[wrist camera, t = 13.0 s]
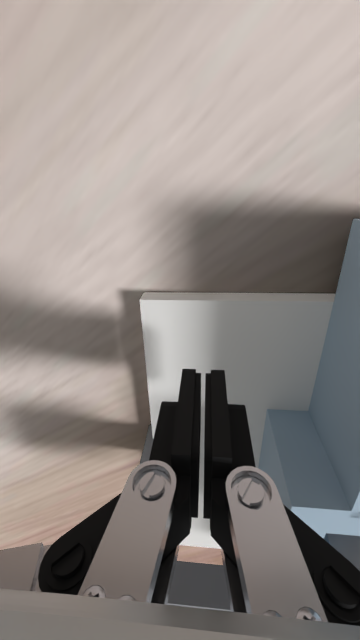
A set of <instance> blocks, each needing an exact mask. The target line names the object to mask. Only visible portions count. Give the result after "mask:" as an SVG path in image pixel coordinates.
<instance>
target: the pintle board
mask: <svg viewBox="0 0 360 640" xmlns="http://www.w3.org/2000/svg"><path fill="white" fill-rule="evenodd" d="M334 299H335V294H328V293H194V292H144V293H143V295H142V296H141V298H140V310H141V321H142V331H143V342H144V352H145V363H146V373H147V384H148V394H149V405H150V415H151V425H149V428H148V432H147V436H146V440H145V445H144V449H143V453H142V457H141V461H140V464H142V463H143V462H146V461H149V458H150V453H151V448H152V444H153V439H154V434H155V430H156V425H157V420H158V415H159V411H160V406H161V402H162V401H168V402H178V398H179V390H180V383H181V376H182V369H196V373H201V433H200V468H199V502H198V518H192V522H191V529H190V534H189V535H188V536H187V537H186V538H185V539H184V540H183V541H182V542H181V543H180V544H179V545H185V546H196V547H207V548H218V549H221V547H220V546H219V545H218V544H217V542H216V541H215V540H214V539H213V538H212V536H211V530H210V519H205V518H203V508H204V432H205V375H206V373H211V370H225V380H226V391H227V402H228V404H238V405H245V407H246V413H247V419H248V424H249V430H250V436H251V442H252V448H253V454H254V460H255V466H256V468H258V466H259V459H260V453H261V446H262V439H263V432H264V426H265V419H266V412H267V409H275V410H295V411H308V410H309V405H310V401H311V397H312V393H313V388H314V384H315V380H316V376H317V371H318V367H319V363H320V358H321V354H322V350H323V346H324V341H325V337H326V333H327V329H328V324H329V320H330V316H331V311H332V307H333V303H334ZM326 534H327V537H328V540H329V543H330V545H331V546H332V547H334V548H335V549H336V550H337V551H338V552H339V553H341V554H342V555H343V556H344V557H345V558H346V559H348V560H349V561H350V562H351V563H352V564H353V565H354V566H355V567H356V568H357V569H358V570H359V571H360V536H354V535H342V534H330V533H326ZM167 605H175V606H184V607H193V608H203V609H212V610H221V611H230V612H231V609H230V603H229V597H228V590H227V584H226V578H225V572H224V566H223V565H213V564H203V563H193V562H182V561H176V565H175V570H174V575H173V580H172V584H171V589H170V594H169V599H168V603H167Z"/></svg>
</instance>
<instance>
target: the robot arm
mask: <svg viewBox="0 0 360 640" xmlns="http://www.w3.org/2000/svg"><path fill="white" fill-rule="evenodd" d="M200 433H201V373H196V369H182V376H181V383H180V390H179V398H178V402H168V401H162V402H161V406H160V411H159V415H158V420H157V425H156V430H155V434H154V439H153V444H152V448H151V453H150V458H149V461H146V462H143V463H142V464H140V465H138V466H137V467H136V468H135V469H134V470H133V471H132V472H131V474H130V476H129V477H128V480H127V482H126V484H125V487H124V489H123V491H122V493H121V494H119V495H118V496H116V497H115V498H114V499H112V500H111V501H110V502H108V503H107V504H105V505H104V506H103V507H101V508H100V509H99V510H97V511H96V512H94V513H93V514H92V515H90V516H89V517H88V518H86V519H85V520H83V521H82V522H81V523H79V524H78V525H77V526H75V527H74V528H72V529H71V530H70V531H68V532H67V533H66V534H64V535H63V536H61V537H60V538H59V539H58V540H57V541H56V542H54V543H53V544H52V545H47V546H43V544H42V543H37V544H32V545H26V546H21V547H15V548H10V549H4V550H0V640H360V571H359V570H358V569H357V568H356V567H355V566H354V565H353V564H352V563H351V562H350V561H349V560H348V559H346V558H345V557H344V556H343V555H342V554H341V553H339V552H338V551H337V550H336V549H335V548H334V547H332V546H331V545H330V544H329V543H328V542H327V541H325V540H324V539H323V538H322V537H321V536H320V535H319V534H317V533H316V532H315V531H314V530H313V529H312V528H310V527H309V526H308V525H307V524H306V523H305V522H303V521H302V520H301V519H300V518H299V517H298V516H296V515H295V514H294V513H293V512H292V511H291V510H290V509H288V508H287V507H286V506H285V505H284V504H283V503H282V500H281V497H280V495H279V492H278V490H277V487H276V485H275V483H274V481H273V480H272V479H271V477H270V476H269V475H268V474H267V473H265V472H264V471H262V470H261V469H258V468H256V466H255V460H254V454H253V448H252V442H251V436H250V430H249V424H248V419H247V413H246V407H245V405H238V404H228V402H227V391H226V380H225V370H211V373H206V375H205V432H204V508H203V518H205V519H210V530H211V536H212V538H213V539H214V540H215V541H216V542H217V544H218V545H219V546H220V547H221V554H222V560H223V566H224V572H225V578H226V584H227V590H228V597H229V603H230V609H231V612H230V611H221V610H212V609H203V608H193V607H184V606H175V605H167V603H168V599H169V594H170V589H171V584H172V580H173V575H174V570H175V565H176V561H177V556H178V551H179V544H180V543H181V542H182V541H183V540H184V539H185V538H186V537H187V536H188V535H189V534H190V529H191V522H192V518H198V502H199V468H200Z"/></svg>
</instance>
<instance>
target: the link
mask: <svg viewBox="0 0 360 640" xmlns="http://www.w3.org/2000/svg"><path fill="white" fill-rule="evenodd" d="M258 469H261V470H262V471H264V472H265V473H267V474H268V475H269V476H270V477H271V479H272V480H273V481H274V483H275V485H276V487H277V490H278V492H279V495H280V497H281V500H282V503H283V504H284V505H285V506H286V507H287V508H288V509H290V510H291V511H292V512H293V513H294V514H295V515H296V516H298V517H299V518H300V519H301V520H302V521H303V522H305V523H306V524H307V525H308V526H309V527H310V528H312V529H313V530H314V531H315V532H316V533H317V534H319V535H320V536H321V537H322V538H323V539H324V540H325V541H327V542H328V543H329V540H328V537H327V534H326V533H330V534H342V535H354V536H360V219H353V222H352V226H351V230H350V234H349V239H348V243H347V247H346V252H345V256H344V260H343V264H342V269H341V273H340V277H339V282H338V286H337V290H336V294H335V299H334V303H333V307H332V311H331V316H330V320H329V324H328V329H327V333H326V337H325V341H324V346H323V350H322V354H321V358H320V363H319V367H318V371H317V376H316V380H315V384H314V388H313V393H312V397H311V401H310V405H309V410H308V411H295V410H275V409H267V412H266V419H265V426H264V432H263V439H262V446H261V453H260V459H259V466H258ZM329 544H330V543H329Z"/></svg>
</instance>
